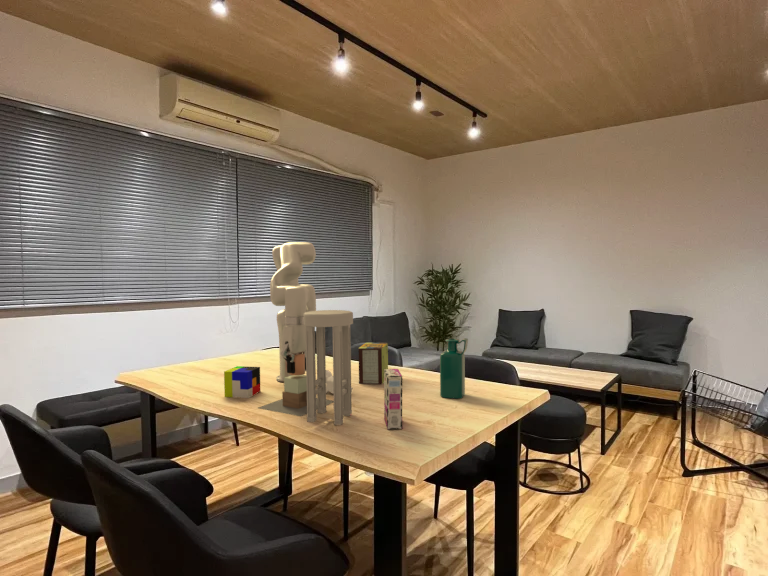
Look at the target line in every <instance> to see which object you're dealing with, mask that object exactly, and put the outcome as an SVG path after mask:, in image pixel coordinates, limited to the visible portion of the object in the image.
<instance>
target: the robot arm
mask: <svg viewBox="0 0 768 576" xmlns="http://www.w3.org/2000/svg"><path fill="white" fill-rule="evenodd" d="M316 254H317V253H316V248H315V246H314V244H313V243H312V242H305V241H304V242H302V241H301V242H298V241H297V242H295V241H293V242H292V241H290V242H285V243H284V244H281V245H277V246H274V247H273V249H272V260H273V264H274V265H275V266H274V267H275V268H276V270H277V271H276V272H275V273H274V274H273V275H272V277H271V280H270V283H269V292H270V293H269V294H270V295H269V297H270V301H271V302H270V303H272V305H274V306H276V307H284V309H280V310H279V311H278V312H277V314H276V324H277V330H278V342H279V343H278V346H279V347H278V348H279V349H278V350H279V354H278V355H279V375H277V376H276V377H275V379H276V381H277V382H280V383H281V382H283V383H284V378H285V377H289V376H292V375H289V373H292V374H294V373H295V362H293V361H294V357H295V354H296V353H304V354H305V372H306V331H305V325H304V313H305V312H309V311H317V296H316V289H315V287H314V286H313V285H312V284H307V283H305V284H303V283H301V284H300V283H299V278H300V277H301V275H302V274H303V271H304V270H303V269H304V268H303V265H311V264H313V263H314V262H315V259H316V257H317V255H316ZM290 355H291V357H290Z"/></svg>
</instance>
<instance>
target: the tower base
mask: <svg viewBox="0 0 768 576" xmlns="http://www.w3.org/2000/svg"><path fill="white" fill-rule="evenodd" d="M281 394H282V397H281V399H283V406H287V407H292V408H298V409H299V408H302V407H304V406H307V391H305V392H303V393H300V394H295V393H289V392H284V390H283V391H282V392H281Z"/></svg>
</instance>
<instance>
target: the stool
mask: <svg viewBox="0 0 768 576" xmlns="http://www.w3.org/2000/svg"><path fill="white" fill-rule="evenodd" d="M304 325H305V331H306V371H305V375H306V383H307V414H306V421H307V422H309V423H315V422H316V421H317V414H325V413H326V412H327V406H326V399H327V393H326V370H327V369H326V363H327V362H326V328H331V327H332V328H331V329H332V370H333V371H332V376H333V387H334V394H333V401H334V403H333V425H335V426H338V425H339V426H342V425H343V424H344V416H345V417H346V416H347V417H351V415H352V412H353V411H352V406H353V405H352V404H353V403H352V393H351V386H352V349H351V347H352V346H351V342H352V341H351V325H354V313H353V312H352V311H351V310H346V309H345V310H344V309H339V310H338V309H326V310H325V309H324V310H323V309H321V310H320V309H319V310H316V311H309V312H305V313H304ZM316 398H317V402H318V409H317V410H316Z"/></svg>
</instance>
